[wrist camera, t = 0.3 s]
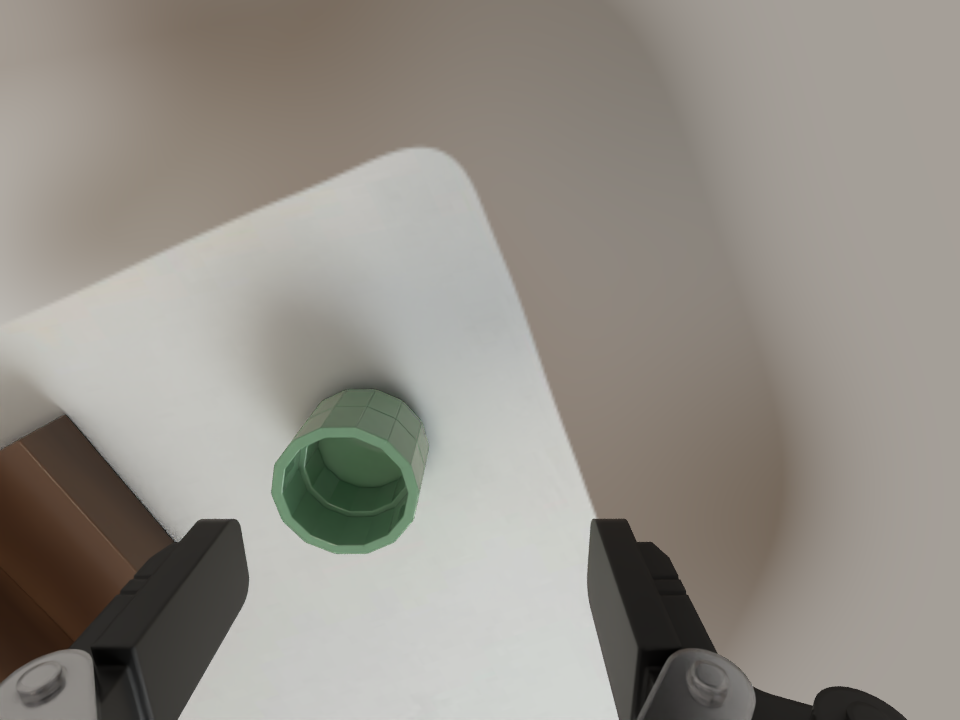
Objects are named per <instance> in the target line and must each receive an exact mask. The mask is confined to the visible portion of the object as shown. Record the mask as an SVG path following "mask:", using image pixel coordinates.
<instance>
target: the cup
mask: <svg viewBox="0 0 960 720" xmlns="http://www.w3.org/2000/svg"><path fill="white" fill-rule="evenodd" d="M428 450H429V444H428V441H427V437H426V434H425V431H424V427H423V424H422V422H421V420H420V419H419V418H418V417H417V416H416V415H415V413H414V412H413V411H412V410H411V409H410V408H409V407H408V406H407V405H406V404H405V403H404V402H403V401H402V400H400V399H398V398H395V397H393V396H391V395H388V394H386V393H384V392H381V391H379V390H375V389H348V390H344V391H342V392H340V393H338V394H336V395H333V396H331V397H329V398H327V399H325V400H323V401H322V402H321V403H320V404H319V405H318V407H317V408H316V409H315V411H314V412H313V413H312V415H311V416H310V417H309V419H308V420H307V421H306V423H305V424H304V425H303V427H302V428H301V429H300V431H299V432H298V433H297V435H296V436H295V437H294V439H293V440H292V441H291V443H290V444H289V445H288V447H287V448H286V449H285V451H284V452H283V453H282V455H281V456H280V457H279V459H278V460H277V461H276V463H275V465H274V472H273V481H272V490H271V493H272V497H273V499H274V502H275V504H276V507H277V509H278V511H279V514H280V516H281V519H282V520H283V522H284V523H285V524H286V525H287V526H288V527H289V528H290V529H292V530H293V531H294V532H295V533H296V534H297V535H298V536H299V537H300V538H301V539H302V540H303V541H304V542H306V543H308V544H311V545H313V546H316V547H319V548H321V549H324V550H326V551H329V552H332V553H336V554H366V553H370V552H373V551H375V550H377V549H380V548H382V547H384V546H387V545H389V544H391V543H394V542H395V541H396V540H397V539H398V538H399V537H400V535H401V534H402V533H403V532H404V531H405V530H406V529H407V527H408V526H409V525H410V524H411V523H412V522H413V520H414V517H415V512H416V508H417V503H418V498H419V493H420V489H421V484H422V479H423V474H424V469H425V464H426V460H427V455H428Z"/></svg>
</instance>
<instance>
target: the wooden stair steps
mask: <svg viewBox="0 0 960 720" xmlns="http://www.w3.org/2000/svg"><path fill="white" fill-rule="evenodd" d="M173 542H174V541H173V540H172V539H171V538H170V537H169V536H168V534H167V533H166V532H165V531H164V530H163V528H162V527H161V526H160V525H159V524H158V523H157V521H156V520H155V519H154V518H153V517H152V516H151V514H150V513H149V512H148V511H147V510H146V508H145V507H144V506H143V505H142V504H141V503H140V501H139V500H138V499H137V498H136V497H135V496H134V494H133V493H132V492H131V491H130V490H129V488H128V487H127V486H126V485H125V484H124V483H123V481H122V480H121V479H120V478H119V477H118V476H117V474H116V473H115V472H114V471H113V470H112V468H111V467H110V466H109V465H108V464H107V463H106V461H105V460H104V459H103V458H102V457H101V456H100V454H99V453H98V452H97V451H96V450H95V449H94V447H93V446H92V445H91V444H90V443H89V441H88V440H87V439H86V438H85V437H84V436H83V434H82V433H81V432H80V431H79V430H78V429H77V427H76V426H75V425H74V424H73V423H72V421H71V420H70V419H69V418H68V417H67V416H66V415H63V416H61V417H59V418H57V419H56V420H54V421H52V422H50V423H48V424H46V425H45V426H43V427H41V428H39V429H37V430H35V431H34V432H32V433H30V434H28V435H26V436H24V437H23V438H21V439H19V440H17V441H15V442H14V443H12V444H10V445H8V446H7V447H5V448H3V449H1V450H0V683H1V682H2V681H3V680H4V679H6V678H7V677H8V676H9V675H10V674H12V673H13V672H14V671H16V670H17V669H19V668H20V667H22V666H23V665H25V664H27V663H29V662H30V661H32V660H34V659H36V658H39V657H41V656H43V655H46V654H49V653H52V652H56V651H60V650H66V649H68V648H69V647H70V646H71V645H72V644H73V643H74V642H75V640H76V639H77V638H78V637H79V636H80V635H81V634H82V633H83V632H84V630H85V629H86V628H87V627H88V626H89V625H90V624H91V623H92V622H93V620H94V619H95V618H96V617H97V616H98V615H99V614H100V613H101V612H102V610H103V609H104V608H105V607H106V606H107V605H108V604H109V603H110V602H111V600H112V599H113V598H114V597H115V596H116V595H119V594H120V590H121V589H122V588H123V587H124V586H125V585H126V584H127V583H128V582H129V580H130V579H133V578H134V575H135V574H136V573H137V572H138V570H139V569H140V568H141V567H142V566H143V565H144V564H145V563H146V562H147V560H148V559H149V558H150V557H152V556H153V555H155V554H156V553H158V552H159V551H161V550H162V549H164V548H165V547H167V546H168V545H170V544H171V543H173Z"/></svg>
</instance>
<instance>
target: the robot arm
mask: <svg viewBox="0 0 960 720" xmlns="http://www.w3.org/2000/svg"><path fill="white" fill-rule="evenodd" d="M248 586H249V573H248V567H247V562H246V556H245V550H244V544H243V538H242V532H241V527H240V524H239V522H238V521H237V520H236V519H201V520H199V521H197V522H196V523H195V525H194V526H193V527H192V528H191V529H190V531H189V532H188V533H187V534H186V535H185V536H184V538H183V539H182V540H181V541H180V542H173V543H171V544H170V545H168V546H167V547H165V548H164V549H162V550H161V551H159V552H158V553H156V554H155V555H153V556H152V557H150V558H149V559H148V560H147V562H146V563H145V564H144V565H143V566H142V567H141V568H140V569H139V570H138V572H137V573H136V574H135V575H134V578H133V579H130V580H129V582H128V583H127V584H126V585H125V586H124V587H123V588H122V589H121V590H120V594H119V595H116V596H115V597H114V598H113V599H112V600H111V602H110V603H109V604H108V605H107V606H106V607H105V608H104V609H103V610H102V612H101V613H100V614H99V615H98V616H97V617H96V618H95V619H94V620H93V622H92V623H91V624H90V625H89V626H88V627H87V628H86V629H85V630H84V632H83V633H82V634H81V635H80V636H79V637H78V638H77V639H76V640H75V642H74V643H73V644H72V645H71V646H70V647H69V648H68V649H66V650H60V651H56V652H52V653H49V654H46V655H43V656H41V657H39V658H36V659H34V660H32V661H30V662H29V663H27V664H25V665H23V666H22V667H20V668H19V669H17V670H16V671H14V672H13V673H12V674H10V675H9V676H8V677H7V678H6V679H4V680H3V681H2V682H1V683H0V720H178V718H179V716H180V714H181V713H182V711H183V709H184V707H185V706H186V704H187V702H188V700H189V699H190V697H191V695H192V693H193V692H194V690H195V688H196V686H197V685H198V683H199V681H200V679H201V678H202V676H203V674H204V673H205V671H206V669H207V667H208V666H209V664H210V662H211V660H212V659H213V657H214V655H215V653H216V652H217V650H218V648H219V646H220V645H221V643H222V641H223V639H224V638H225V636H226V634H227V632H228V631H229V629H230V627H231V625H232V624H233V622H234V620H235V619H236V617H237V615H238V613H239V612H240V610H241V608H242V606H243V604H244V602H245V599H246V596H247V592H248ZM587 588H588V597H589V604H590V608H591V612H592V616H593V620H594V623H595V627H596V631H597V635H598V639H599V643H600V647H601V651H602V655H603V659H604V662H605V666H606V670H607V674H608V678H609V682H610V686H611V690H612V694H613V698H614V701H615V705H616V709H617V713H618V717H619V720H907V719H906V718H905V717H904V716H903V715H902V714H900V713H899V712H898V711H897V710H895V709H894V708H893V707H891V706H890V705H888V704H887V703H886V702H884V701H882V700H880V699H879V698H877V697H875V696H872V695H870V694H868V693H866V692H863V691H860V690H858V689H853V688H849V687H841V686H840V687H839V686H838V687H829V688H826V689H824V690H822V691H820V692H819V693H818V694H817V696H816V698H815V700H814V704H813V706H811V705H808V704H804V703H801V702H796V701H793V700H790V699H786V698H782V697H779V696H775V695H772V694H769V693H766V692H763V691H761V690H759V689H757V688H755V687H753V686H752V684H751V682H750V681H749V679H748V678H747V676H746V675H745V674H744V673H743V672H742V671H741V669H740V668H738V667H737V666H736V665H735V664H734V663H732V662H731V661H729V660H728V659H726V658H725V657H723V656H721V655H719V654H718V653H717V652H716V650H715V648H714V646H713V644H712V642H711V640H710V638H709V636H708V634H707V632H706V630H705V628H704V626H703V624H702V622H701V620H700V618H699V616H698V614H697V612H696V610H695V608H694V606H693V604H692V602H691V600H690V598H689V596H688V595H686V590H685V588H684V586H683V584H682V582H681V580H679V579H678V574H677V572H676V570H675V568H674V566H673V564H672V562H671V560H670V558H669V557H668V556H667V555H666V554H665V553H663V552H662V551H661V550H660V549H659V548H658V547H657V546H656V545H655V544H653V543H652V542H636V539H635V537H634V535H633V532H632V530H631V528H630V526H629V523H628V521H627V520H626V519H592V522H591V527H590V542H589V557H588V571H587Z"/></svg>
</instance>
